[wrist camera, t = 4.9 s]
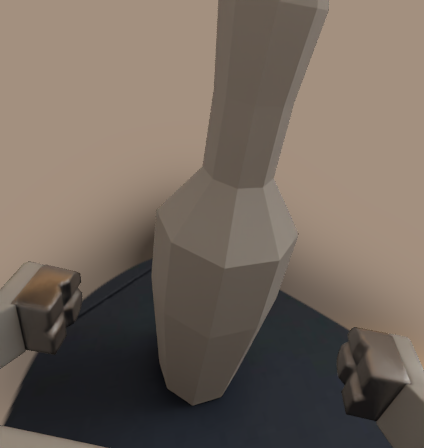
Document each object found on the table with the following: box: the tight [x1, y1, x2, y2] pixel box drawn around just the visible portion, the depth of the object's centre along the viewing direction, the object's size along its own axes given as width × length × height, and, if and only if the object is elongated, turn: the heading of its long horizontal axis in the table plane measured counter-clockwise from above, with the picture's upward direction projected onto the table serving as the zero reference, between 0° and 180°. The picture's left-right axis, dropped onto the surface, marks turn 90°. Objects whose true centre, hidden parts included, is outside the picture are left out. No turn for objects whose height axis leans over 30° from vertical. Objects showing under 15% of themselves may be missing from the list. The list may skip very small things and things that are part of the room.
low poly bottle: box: [152, 0, 329, 406], centre depth 16 cm, size 6×6×22 cm
